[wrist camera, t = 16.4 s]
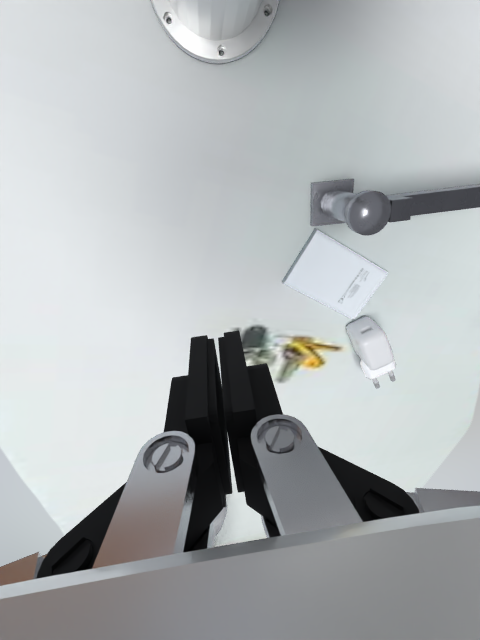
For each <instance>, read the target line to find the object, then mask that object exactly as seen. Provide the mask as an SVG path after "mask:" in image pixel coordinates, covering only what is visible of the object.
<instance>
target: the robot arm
mask: <svg viewBox="0 0 480 640" xmlns="http://www.w3.org/2000/svg"><path fill="white" fill-rule="evenodd" d="M151 3H152V6H153V9H154V11H155V13H156V15H157V18H158V20H159V22H160V24H161V25H162V27H163V28H164V30H165V31H166V33H167V34H168V36H169V37H170V38H171V39H172V40H173V42H174V43H175V44H176V45H177V46H178V47H179V48H180V49H182V50H183V51H185V52H186V53H187V54H189V55H190V56H192V57H194V58H197V59H199V60H201V61H205V62H209V63H227V62H231V61H235V60H237V59H239V58H241V57H243V56H245V55H247V54H248V53H249V52H250V51H252V50H253V49H254V48H255V47H256V46H257V45H258V44H259V43H260V41H261V40H262V39H263V37H264V36H265V35H266V33H267V31H268V29H269V27H270V26H271V24H272V21H273V19H274V17H275V14H276V12H277V8H278V4H279V0H151ZM265 11H267V12H268V13H269V16H266V15H265V14H264V12H265ZM168 18H169V19H171V23H170V24H168V23H167V22H166V20H167V19H168ZM219 51H223V52H224V55H223V56H220V55H219ZM218 341H219V353H220V366H221V378H220V373H219V367H218V361H217V355H216V349H215V343H214V339H208V337H207V335H206V336H199V337H192V338H191V346H190V359H189V372H188V375H187V376H180V377H173V378H172V381H171V388H170V395H169V401H168V408H167V414H166V421H165V428H164V433H161V434H159V435H156V436H155V437H153V438H152V439H150V440H148V442H147V443H146V444H145V445H144V446H143V447H142V448H141V450H140V452H139V453H138V455H137V458H136V460H135V463H134V465H133V468H132V470H131V473H130V475H129V478H128V480H127V482H126V483H125V484H124V485H123V486H121V487H120V488H119V489H118V490H117V491H116V492H115V493H113V494H112V495H111V496H110V497H109V498H108V499H106V500H105V501H104V502H103V503H102V504H101V505H99V506H98V507H97V508H96V509H95V510H94V511H93V512H91V513H90V514H89V515H88V516H87V517H86V518H84V519H83V520H82V521H81V522H80V523H79V524H78V525H76V526H75V527H74V528H73V529H72V530H71V531H69V532H68V533H67V534H66V535H65V536H64V537H62V538H61V539H60V540H59V541H58V542H57V543H56V544H55V546H53V548H51V549H50V551H49V552H48V554H46V555H43V556H41V555H40V553H39V552H37V553H35V554H32V555H29V556H27V557H24V558H22V559H19V560H17V561H14V562H12V563H9V564H6V565H4V566H1V567H0V640H480V492H477V491H458V490H441V489H424V488H415V493H410V492H405V491H404V490H403V489H401V488H399V487H398V486H396V485H395V484H393V483H391V482H389V481H387V480H385V479H383V478H381V477H379V476H377V475H375V474H373V473H371V472H369V471H367V470H365V469H363V468H360V467H358V466H356V465H354V464H352V463H350V462H348V461H346V460H344V459H342V458H340V457H338V456H336V455H334V454H332V453H330V452H328V451H326V450H324V449H322V448H320V447H318V446H317V445H316V443H315V442H314V440H313V438H312V437H311V435H310V433H309V432H308V430H307V428H306V427H305V426H304V425H303V423H302V422H301V421H299V420H298V419H296V418H294V417H291V416H288V415H283V413H282V410H281V407H280V404H279V401H278V397H277V394H276V391H275V388H274V384H273V381H272V378H271V375H270V372H269V368H268V365H267V364H260V365H253V366H247V367H246V362H245V357H244V352H243V347H242V342H241V338H240V333H239V331H233V332H226V333H224V337H220V338H218ZM221 379H222V384H221ZM227 432H228V436H227ZM228 438H229V444H230V450H231V455H232V461H233V467H234V472H235V478H236V484H237V490H238V492H244V491H245V497H246V503H247V505H248V506H250V507H251V508H252V509H254V510H255V511H257V512H258V513H259V514H261V518H262V523H263V526H264V530H265V533H266V536H267V538H266V539H260V540H254V541H248V542H242V543H236V544H231V545H225V546H219V547H213V548H212V544H213V535H214V521H213V520H214V519H215V518H216V517H217V515H218V514H219V513H220V512H221V511H222V509H223V508H224V507H226V494H232V483H231V471H230V459H229V447H228Z"/></svg>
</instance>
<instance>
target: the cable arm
mask: <svg viewBox="0 0 480 640" xmlns="http://www.w3.org/2000/svg"><path fill="white" fill-rule="evenodd" d="M477 207H480V184H475V185H467V186H459V187H451V188H443V189H434V190H426V191H418V192H410V193H401V194H393V195H384V194H383V193H381V192H377V191H363V192H360V193H358V194H357V195H355V196H354V197H353V198H352V199H351V200H350V202H349V204H348V206H347V208H346V212H345V219H346V223H347V225H348V227H349V228H350V229H351V230H352V231H354V232H356V233H359V234H361V235H372V234H375V233H377V232H379V231H380V230H381V229H383V228H384V226H385V225H386V224H387V222H396V221H404V220H410V216H413V215H421V214H429V213H437V212H445V211H453V210H461V209H469V208H477Z"/></svg>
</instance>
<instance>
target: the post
mask: <svg viewBox="0 0 480 640" xmlns="http://www.w3.org/2000/svg"><path fill="white" fill-rule="evenodd" d="M353 185H354V179H345V180H335V181H325V182H316V183H311V226H319V225H328V224H337V223H346V219H345V212H346V208H347V206H348V204H349V202H350V200H351V199H352V198H353V197H354V196H355V195H357V194H354V193H353Z"/></svg>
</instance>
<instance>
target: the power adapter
mask: <svg viewBox="0 0 480 640" xmlns="http://www.w3.org/2000/svg"><path fill="white" fill-rule="evenodd" d="M346 330H347V333H348V335H349V338H350V340H351V343H352V345H353V348H354V350H355V352H356V353H357V355H358V356H359V357H360V358H361V361H360V365H361V367H362V370H363V372H364V375H365V377H366V378H368V379H372V380H373V383H374V385H375V388H379V387H380V385H379V383H378V381H377V378H376V377H378V376H381V375H383V374H385V373H387V372H388V373H389V377H390V380H391V381H395V376H394V374H393V371H392V370H393V369H395V367H396V363H395V360H394V356H393V353H392V350H391V347H390V344H389V341H388V338H387V336H386V334H385V332H384V331H383V330H382V328H381V327H380V326H378V325H377V324H376V323H375V322H374V321H373V320H372V319H371V318H369V317H362V318H360V319H358V320H356V321H354V322H352V323H350V324H348V325H347V327H346Z"/></svg>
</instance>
